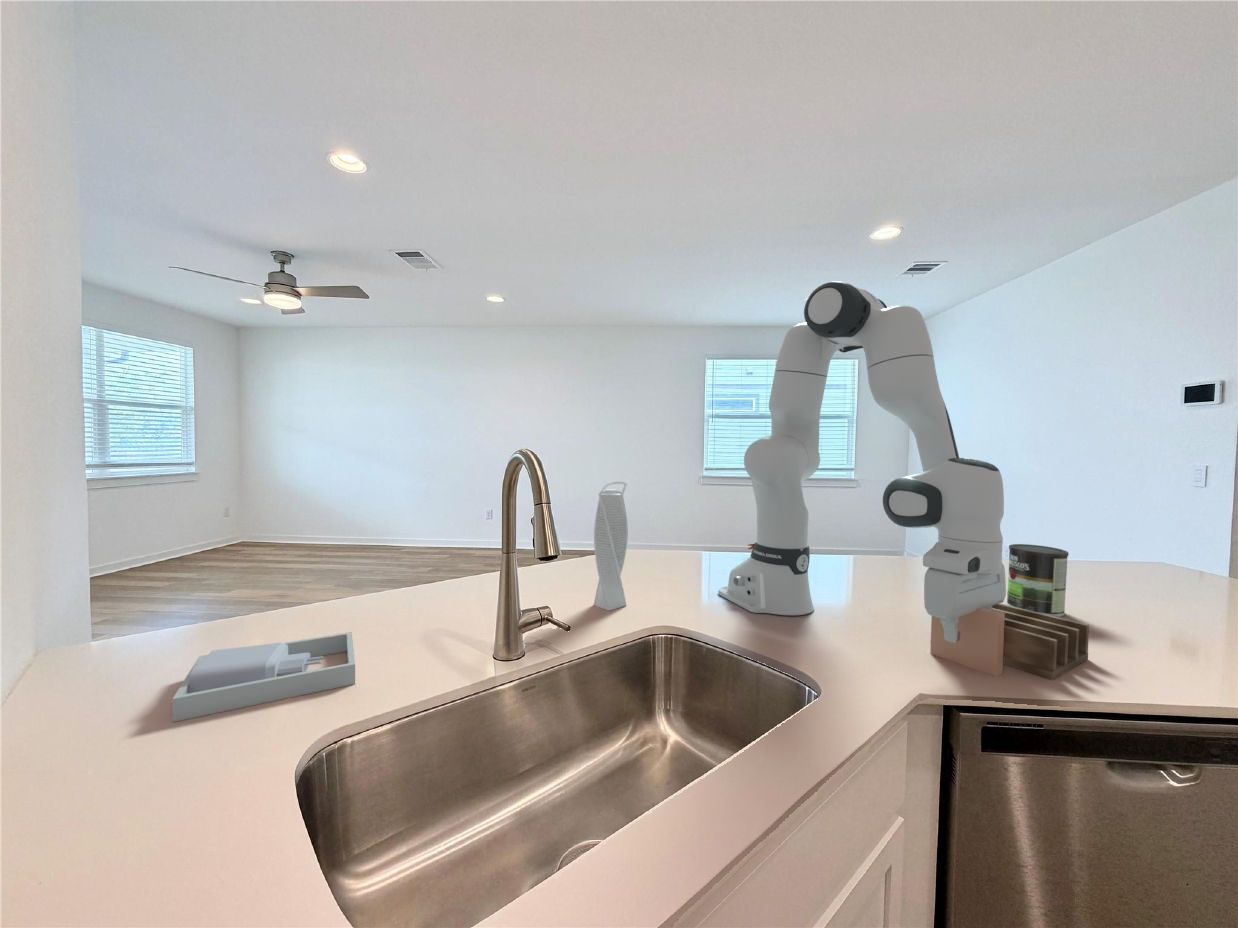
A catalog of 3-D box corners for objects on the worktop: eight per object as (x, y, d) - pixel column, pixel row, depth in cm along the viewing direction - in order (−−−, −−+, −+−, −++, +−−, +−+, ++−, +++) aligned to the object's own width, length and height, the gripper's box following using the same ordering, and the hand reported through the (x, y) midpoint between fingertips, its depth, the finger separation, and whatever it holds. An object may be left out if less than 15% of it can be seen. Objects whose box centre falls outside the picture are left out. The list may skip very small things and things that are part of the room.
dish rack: (943, 643, 91) (944, 611, 90) (982, 629, 98) (983, 599, 98) (1052, 679, 77) (1054, 641, 77) (1087, 659, 85) (1089, 624, 84)
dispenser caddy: (199, 675, 75) (199, 656, 75) (351, 648, 85) (351, 631, 85) (172, 721, 62) (172, 698, 62) (355, 683, 73) (355, 664, 73)
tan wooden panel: (930, 653, 86) (932, 597, 86) (936, 651, 87) (938, 596, 87) (996, 676, 78) (998, 614, 78) (1002, 673, 79) (1004, 612, 79)
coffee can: (1025, 615, 107) (1028, 552, 106) (996, 601, 117) (998, 543, 117) (1078, 618, 105) (1081, 554, 105) (1043, 603, 116) (1046, 544, 115)
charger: (316, 688, 72) (188, 707, 66) (327, 662, 80) (215, 677, 75) (315, 657, 72) (187, 673, 66) (327, 634, 80) (215, 647, 75)
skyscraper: (612, 597, 116) (614, 480, 115) (634, 605, 111) (636, 482, 110) (587, 604, 111) (588, 482, 110) (608, 613, 105) (610, 484, 104)
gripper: (977, 545, 90) (974, 619, 91) (916, 557, 80) (914, 640, 80) (1018, 552, 85) (1015, 630, 85) (959, 565, 74) (956, 654, 75)
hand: (966, 635), depth 82 cm, fingers open, 8 cm apart
